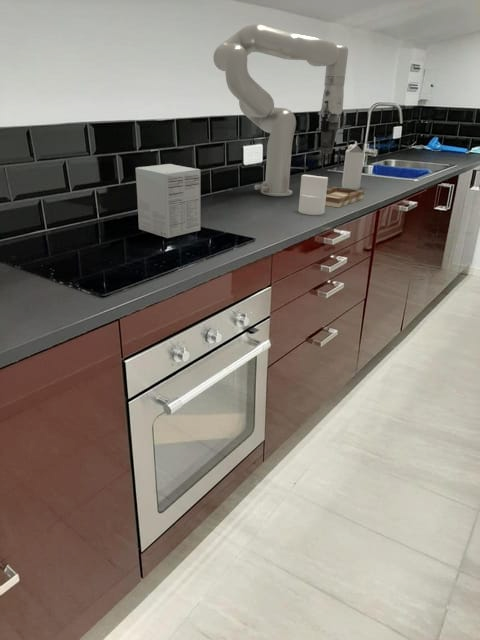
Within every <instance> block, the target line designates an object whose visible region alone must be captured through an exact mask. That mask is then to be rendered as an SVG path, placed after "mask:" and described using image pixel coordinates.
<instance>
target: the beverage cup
mask: <svg viewBox="0 0 480 640" xmlns="http://www.w3.org/2000/svg"><path fill="white" fill-rule="evenodd" d="M327 116H328V115H327ZM329 121H330V122H329V131H328V132H321V131H320V132H321V133H320V134H321V135H320V154H325V155H326V154H327V155H328V154H329V155H331V154H333V151H334V147H335V146H334V145H335V142H336V141H335V140H336V135H337V132H338V129H337V128H339V124H340V117H339V118H338V116H337V114H331V115H330V118H329Z"/></svg>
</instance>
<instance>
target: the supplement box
mask: <svg viewBox="0 0 480 640" xmlns="http://www.w3.org/2000/svg"><path fill="white" fill-rule="evenodd" d="M135 179H136V180H135V183H136V196H137V197H136V198H137V214H138V216H137V217H138V220H137V221H138V230H141V231H144V232H147V233H151V234H154V235H156V236H160V237H164V238H165V239H169V238H174V237H177V236H181V235H186V234H190V233H194V232H199V231H201V169H199V168H193V167H189V166H188V167H187V166H183V165H176V164H173V163H165V164H157V165H149V166H138V167H135Z"/></svg>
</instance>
